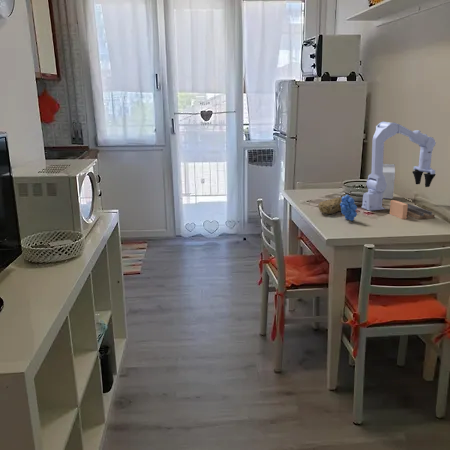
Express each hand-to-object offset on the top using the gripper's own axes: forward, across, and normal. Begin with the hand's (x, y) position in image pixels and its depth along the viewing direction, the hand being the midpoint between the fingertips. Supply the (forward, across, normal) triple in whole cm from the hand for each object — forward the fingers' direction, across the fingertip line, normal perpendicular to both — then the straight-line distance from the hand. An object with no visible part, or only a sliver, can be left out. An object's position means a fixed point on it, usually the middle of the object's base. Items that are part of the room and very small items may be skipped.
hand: (422, 185), depth 246 cm
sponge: (+10, +1, +51) cm, 52 cm away
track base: (+10, -16, +16) cm, 25 cm away
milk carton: (+10, +20, +8) cm, 24 cm away
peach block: (+10, -17, +26) cm, 33 cm away
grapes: (+10, -15, +53) cm, 56 cm away
